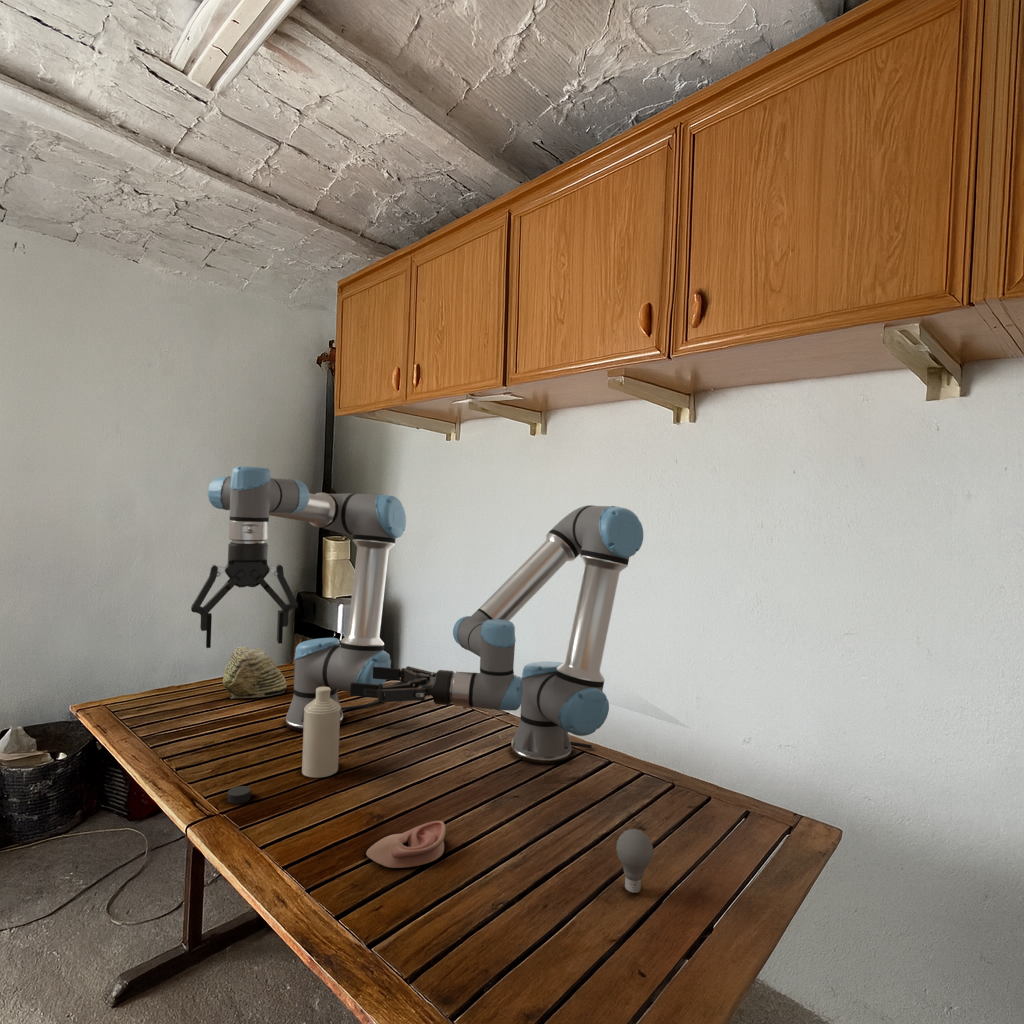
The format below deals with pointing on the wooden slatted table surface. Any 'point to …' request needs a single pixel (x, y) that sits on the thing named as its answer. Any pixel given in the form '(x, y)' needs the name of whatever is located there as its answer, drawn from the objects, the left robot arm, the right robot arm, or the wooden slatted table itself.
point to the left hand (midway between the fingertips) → (244, 644)
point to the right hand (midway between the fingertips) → (362, 680)
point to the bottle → (321, 735)
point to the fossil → (252, 674)
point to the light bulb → (634, 857)
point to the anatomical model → (410, 846)
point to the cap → (239, 794)
